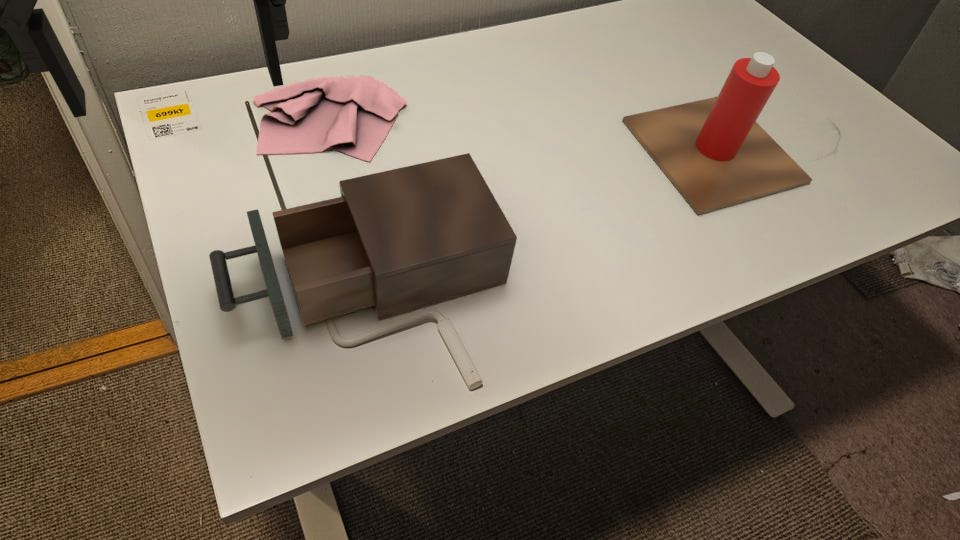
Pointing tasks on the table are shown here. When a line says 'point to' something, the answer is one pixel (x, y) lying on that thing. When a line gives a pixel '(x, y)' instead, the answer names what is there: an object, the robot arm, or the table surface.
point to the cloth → (328, 116)
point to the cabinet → (429, 233)
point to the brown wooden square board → (708, 180)
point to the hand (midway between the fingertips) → (181, 89)
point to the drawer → (306, 264)
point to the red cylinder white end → (738, 106)
